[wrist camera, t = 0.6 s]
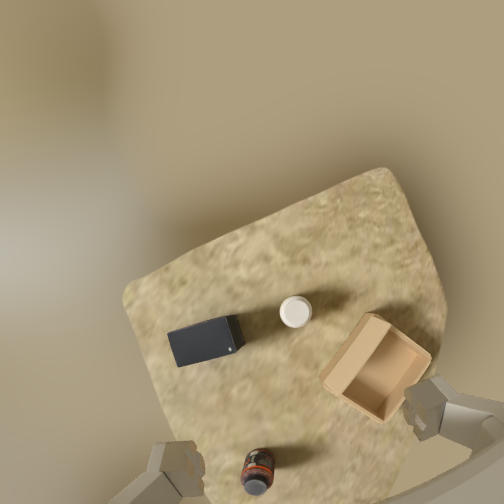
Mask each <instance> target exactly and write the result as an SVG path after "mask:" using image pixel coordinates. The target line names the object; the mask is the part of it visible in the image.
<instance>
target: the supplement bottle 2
mask: <svg viewBox="0 0 504 504" xmlns="http://www.w3.org/2000/svg"><path fill="white" fill-rule="evenodd" d="M311 316H312V307H311V304H310V303H309V301H308V300H307V299H305V298H304V297H301V296H290V297H288V298H286V299H285V300H284V301H283V302H282V304H281V306H280V317H281V319H282V321H283V322H284V323H285V324H286V325H288V326H289V327H293V328H299V327H302V326H304V325H306V324H307V323H308V322H309V320H310V319H311Z"/></svg>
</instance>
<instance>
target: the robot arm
mask: <svg viewBox="0 0 504 504" xmlns="http://www.w3.org/2000/svg"><path fill="white" fill-rule="evenodd" d="M404 397H405V398H406V400H405V402H404V403H403V413H404V417H405V419H406V421H407V423H408V424H409V425H412V426H414V430H413V432H414V433H415V435H416V436H417V437H418V439H419V441H420V442H421V441H424V440H426V439H428V438H430V437H433V436H435V435H437V434H439V435H441V436H443V437H445V438H447V439H450V440H452V441H454V442H457V443H459V444H461V445H463V446H466V447H468V448H470V449H473V450H472V452H471V455H470V457H469V459H467V460H466V461H464V462H462V463H461V464H459V465H457V466H455V467H453V468H452V469H450V470H448V471H446V472H444V473H442V474H441V475H438V476H437V477H435V478H433V479H431V480H428V481H426V482H424V483H422V484H421V485H418V486H416V487H414V488H411V489H409V490H407V491H405V492H402V493H400V494H397V495H395V496H392V497H390V498H387V499H385V500H382V501H379V502H377V503H374V504H504V402H499V401H494V400H490V399H485V398H481V397H476V396H472V395H468V394H459V393H458V392H457V391H456V390H455V389H454V388H453V387H452V386H451V385H450V384H449V383H448V382H447V381H446V380H445V379H444V378H443V377H442V376H441V375H440V374H436V375H434V376H432V377H430V378H428V379H425V380H423V381H421V382H419V383H416V384H414V385H412V386H409V387H407V388H405V390H404ZM196 450H197V446H196V444H195V442H194V441H192V440H191V441H175V442H156V443H155V444H154V445H153V449H152V453H151V457H150V460H149V464H148V468H147V472H143V473H142V474H140V476H138V477H137V478H136V479H135V480H134V481H133V482H131V483H130V484H129V485H128V486H127V487H125V488H124V489H123V490H122V491H121V492H120V493H118V494H117V495H116V496H115V497H114V498H112V499H111V500H110V501H109V502H107V503H106V504H179V502H180V501H181V500H182V497H197V496H203V494H204V482H203V480H202V479H201V478H202V477H203V476H204V475H205V463H204V460H203V457H202V455H201V453H199V452H197V451H196Z"/></svg>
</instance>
